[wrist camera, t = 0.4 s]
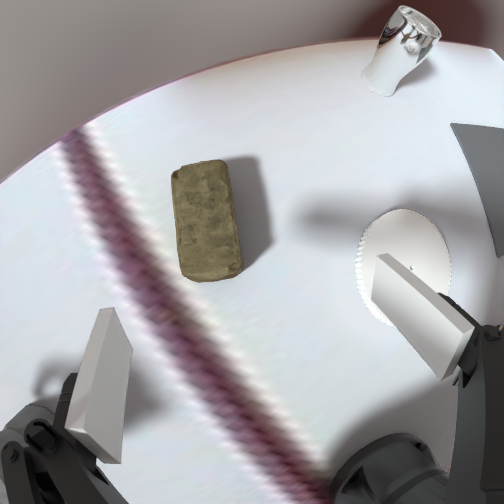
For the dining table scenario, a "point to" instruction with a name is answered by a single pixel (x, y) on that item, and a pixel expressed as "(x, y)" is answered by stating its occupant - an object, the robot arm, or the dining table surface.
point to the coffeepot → (19, 435)
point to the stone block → (206, 222)
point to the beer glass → (400, 50)
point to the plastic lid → (403, 253)
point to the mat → (486, 172)
